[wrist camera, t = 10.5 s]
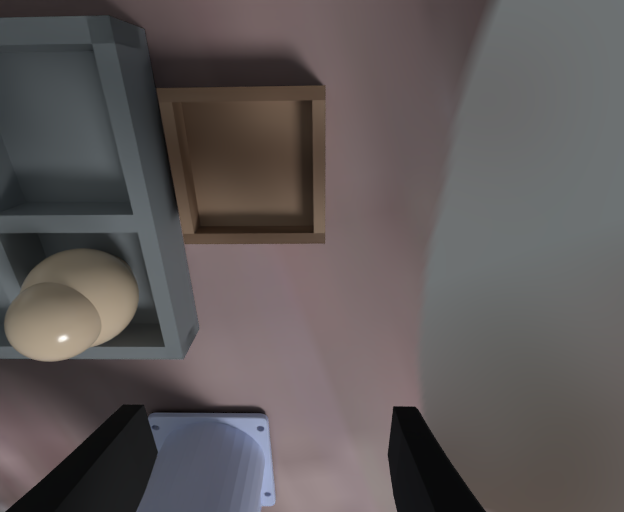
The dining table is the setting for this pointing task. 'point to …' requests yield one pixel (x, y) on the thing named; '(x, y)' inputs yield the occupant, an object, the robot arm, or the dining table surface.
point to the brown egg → (71, 304)
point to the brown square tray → (247, 162)
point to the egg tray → (90, 172)
